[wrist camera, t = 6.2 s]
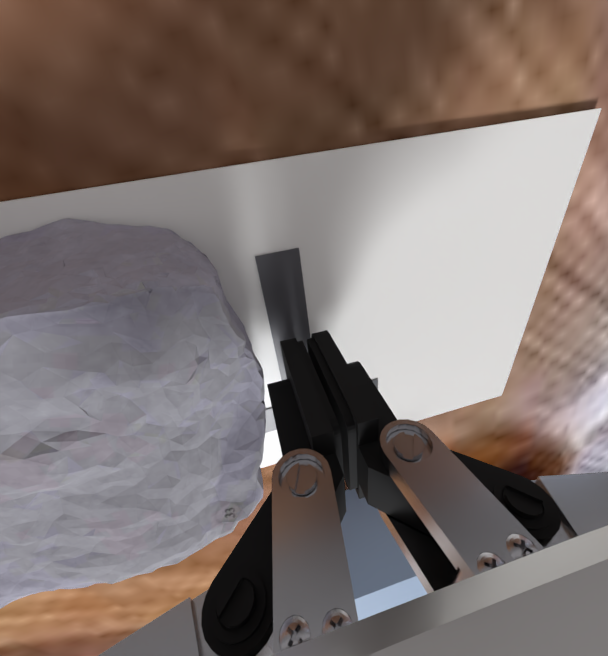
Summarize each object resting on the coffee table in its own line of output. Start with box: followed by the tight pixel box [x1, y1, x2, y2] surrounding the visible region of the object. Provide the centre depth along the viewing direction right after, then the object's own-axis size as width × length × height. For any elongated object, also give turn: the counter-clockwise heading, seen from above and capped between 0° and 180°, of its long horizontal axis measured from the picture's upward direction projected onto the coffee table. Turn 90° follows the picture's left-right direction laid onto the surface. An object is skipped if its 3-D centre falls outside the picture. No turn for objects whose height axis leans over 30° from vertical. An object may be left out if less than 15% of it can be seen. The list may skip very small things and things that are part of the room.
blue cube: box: [341, 489, 427, 621], centre depth 18 cm, size 5×5×5 cm
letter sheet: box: [0, 108, 601, 468], centre depth 12 cm, size 22×13×1 cm, turn 97°
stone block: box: [0, 218, 266, 608], centre depth 10 cm, size 12×5×10 cm
